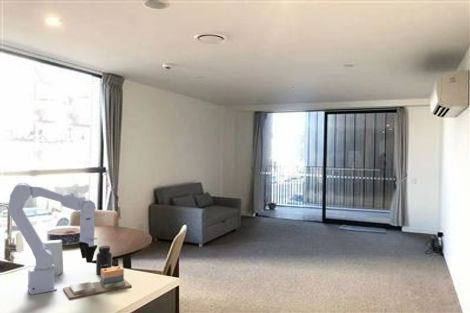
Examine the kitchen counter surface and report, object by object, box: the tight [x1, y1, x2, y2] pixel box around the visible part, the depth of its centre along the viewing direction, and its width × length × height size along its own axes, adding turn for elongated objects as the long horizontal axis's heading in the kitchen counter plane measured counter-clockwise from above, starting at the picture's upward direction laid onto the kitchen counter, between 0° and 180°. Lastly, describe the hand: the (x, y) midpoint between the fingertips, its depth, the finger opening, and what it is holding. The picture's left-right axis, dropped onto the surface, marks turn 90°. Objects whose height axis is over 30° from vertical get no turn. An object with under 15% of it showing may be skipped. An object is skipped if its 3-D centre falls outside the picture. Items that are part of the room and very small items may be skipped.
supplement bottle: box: [95, 245, 113, 276], centre depth 175 cm, size 7×7×12 cm
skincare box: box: [42, 239, 64, 276], centre depth 173 cm, size 8×6×15 cm
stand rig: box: [62, 278, 133, 300], centre depth 155 cm, size 24×12×2 cm, turn 125°
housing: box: [100, 265, 125, 285], centre depth 158 cm, size 5×8×5 cm, turn 125°
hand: (87, 259), depth 161 cm, fingers open, 7 cm apart
